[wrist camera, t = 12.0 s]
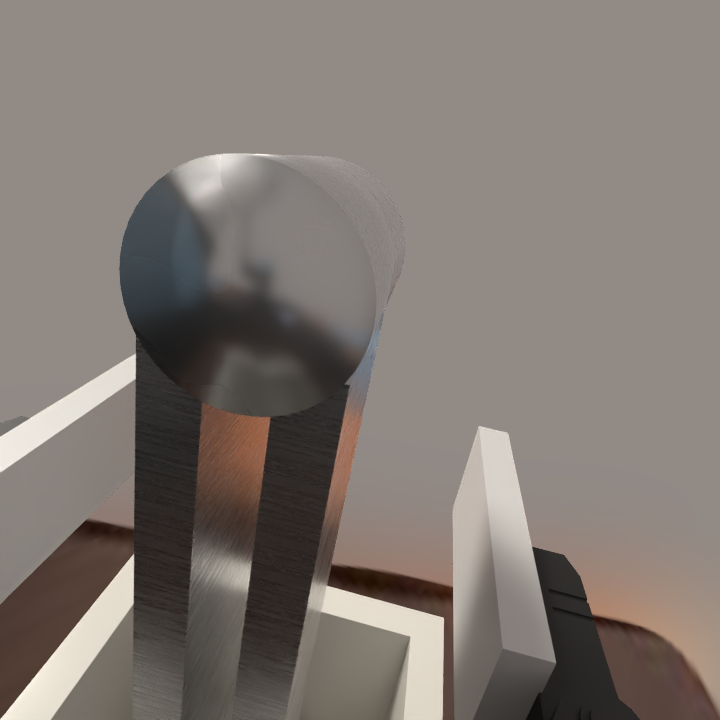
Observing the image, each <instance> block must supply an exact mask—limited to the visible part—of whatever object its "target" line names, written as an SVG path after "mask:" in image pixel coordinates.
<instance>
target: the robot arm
mask: <svg viewBox="0 0 720 720" xmlns="http://www.w3.org/2000/svg"><path fill="white" fill-rule="evenodd" d="M135 395H136V354H134V355H133V356H131V357H129V358H128V359H126V360H125V361H123V362H121V363H120V364H118V365H116V366H115V367H113V368H112V369H110V370H108V371H107V372H105V373H103V374H102V375H100V376H98V377H97V378H95V379H94V380H92V381H90V382H89V383H87V384H86V385H84V386H82V387H81V388H79V389H77V390H76V391H74V392H72V393H71V394H69V395H67V396H66V397H64V398H63V399H61V400H59V401H58V402H56V403H55V404H53V405H51V406H50V407H48V408H46V409H45V410H43V411H42V412H40V413H38V414H36V415H35V416H33V417H32V418H26V417H18V418H15V419H12V420H9V421H6V422H3V423H0V604H1V603H2V602H3V601H4V600H5V599H6V598H7V597H8V596H9V595H10V594H11V593H12V592H13V591H14V590H15V589H16V588H17V587H18V586H19V585H20V584H21V583H22V582H23V581H24V580H25V579H26V578H27V577H28V576H29V575H30V574H31V573H32V572H33V571H34V570H35V569H36V568H37V567H38V566H39V565H40V564H41V563H42V562H43V561H44V560H45V559H46V558H47V557H48V556H49V555H50V554H51V553H53V552H54V551H55V550H56V549H57V548H58V547H59V546H60V545H61V544H62V543H63V542H64V541H65V540H66V539H67V538H68V537H69V536H70V535H71V534H72V533H73V532H74V531H75V530H76V529H77V528H78V527H79V526H80V525H81V524H82V523H83V522H84V521H85V520H86V519H87V518H88V517H89V516H90V515H91V514H92V513H93V512H94V511H95V510H96V509H97V508H98V507H99V506H100V505H101V504H102V503H103V502H104V501H105V500H106V499H107V498H108V497H109V496H110V495H111V494H112V493H113V492H114V491H115V490H116V489H118V487H120V486H121V484H123V483H124V482H125V481H126V480H127V479H128V478H129V477H130V476H131V475H132V474H133V473H134V472H135ZM453 608H454V720H640V719H639V718H638V717H637V716H636V714H635V713H634V712H633V711H632V709H630V708H629V707H628V706H627V705H625V704H624V703H623V702H622V701H620V700H619V698H618V696H617V693H616V690H615V687H614V684H613V680H612V677H611V674H610V671H609V668H608V664H607V661H606V658H605V655H604V651H603V648H602V645H601V642H600V639H599V635H598V632H597V629H596V626H595V623H594V622H593V621H592V620H593V616H592V613H591V610H590V607H589V604H588V603H587V597H586V594H585V590H584V587H583V584H582V581H581V578H580V576H579V575H578V573H577V572H576V570H575V569H574V568H573V567H572V565H571V564H570V562H569V561H568V560H567V558H566V557H565V556H564V555H562V554H558V553H554V552H550V551H546V550H543V549H539V548H535V547H532V545H531V540H530V535H529V531H528V526H527V522H526V517H525V512H524V507H523V503H522V497H521V493H520V488H519V484H518V478H517V474H516V469H515V464H514V460H513V455H512V450H511V445H510V440H509V436H508V433H506V432H501V431H497V430H493V429H489V428H485V427H480V426H479V428H478V431H477V434H476V437H475V440H474V444H473V447H472V450H471V453H470V456H469V459H468V463H467V466H466V469H465V472H464V475H463V478H462V482H461V485H460V488H459V491H458V494H457V498H456V501H455V504H454V507H453Z"/></svg>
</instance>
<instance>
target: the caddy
mask: <svg viewBox="0 0 720 720" xmlns="http://www.w3.org/2000/svg"><path fill="white" fill-rule="evenodd" d="M133 611H134V554H133V556H132V557H131V558H130V559H129V561H128V562H127V563H126V564H125V566H124V567H123V568H122V569H121V570H120V572H119V573H118V574H117V575H116V577H115V578H114V579H113V580H112V582H111V583H110V584H109V585H108V587H107V588H106V589H105V590H104V592H103V593H102V594H101V595H100V597H99V598H98V599H97V600H96V602H95V603H94V604H93V605H92V606H91V608H90V609H89V610H88V611H87V613H86V614H85V615H84V616H83V618H82V619H81V620H80V621H79V623H78V624H77V625H76V626H75V628H74V629H73V630H72V631H71V633H70V634H69V635H68V636H67V638H66V639H65V640H64V641H63V643H62V644H61V645H60V646H59V647H58V649H57V650H56V651H55V652H54V654H53V655H52V656H51V657H50V659H49V660H48V661H47V662H46V664H45V665H44V666H43V667H42V669H41V670H40V671H39V672H38V674H37V675H36V676H35V677H34V679H33V680H32V681H31V682H30V684H29V685H28V686H27V687H26V688H25V690H24V691H23V692H22V693H21V695H20V696H19V697H18V698H17V700H16V701H15V702H14V703H13V705H12V706H11V707H10V708H9V710H8V711H7V712H6V713H5V715H4V716H3V717H2V718H1V720H132V719H133ZM443 641H444V618H442V617H438V616H435V615H431V614H427V613H424V612H420V611H416V610H413V609H409V608H405V607H402V606H398V605H394V604H391V603H387V602H384V601H380V600H376V599H373V598H369V597H365V596H362V595H358V594H354V593H351V592H347V591H343V590H340V589H336V588H333V587H329V586H327V587H326V592H325V597H324V602H323V607H322V611H321V616H320V621H319V626H318V630H317V635H316V640H315V645H314V649H313V654H312V659H311V664H310V669H309V673H308V678H307V683H306V688H305V692H304V697H303V702H302V707H301V711H300V716H299V720H442V709H443Z"/></svg>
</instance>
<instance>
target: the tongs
mask: <svg viewBox="0 0 720 720" xmlns="http://www.w3.org/2000/svg"><path fill="white" fill-rule="evenodd" d="M404 256H405V234H404V227H403V223H402V219H401V216H400V214H399V211H398V209H397V206H396V205H395V203H394V201H393V199H392V197H391V196H390V194H389V193H388V192H387V190H386V189H385V188H384V186H382V184H381V183H380V182H379V181H378V180H377V179H376V178H375V177H373V176H372V175H371V174H370V173H369V172H367V171H366V170H364V169H362V168H361V167H359V166H357V165H355V164H353V163H350V162H348V161H345V160H342V159H337V158H333V157H325V156H295V155H265V154H263V155H262V154H218V155H212V156H206V157H201V158H198V159H196V160H193V161H190V162H187V163H185V164H183V165H181V166H179V167H177V168H175V169H173V170H171V171H170V172H169V173H167V174H166V175H165V176H164V177H162V178H161V179H159V180H158V181H157V182H156V183H155V184H154V185H153V186H152V187H151V188H150V189H149V190H148V191H147V192H146V193H145V195H144V196H143V198H142V199H141V200H140V202H139V203H138V205H137V206H136V208H135V210H134V212H133V214H132V216H131V218H130V220H129V222H128V225H127V228H126V231H125V234H124V237H123V242H122V247H121V254H120V284H121V291H122V296H123V301H124V305H125V308H126V311H127V315H128V318H129V320H130V323H131V325H132V327H133V329H134V332H135V334H136V395H135V505H134V506H135V508H134V611H133V719H132V720H299V716H300V711H301V707H302V702H303V697H304V692H305V688H306V683H307V678H308V673H309V669H310V664H311V659H312V654H313V649H314V645H315V640H316V635H317V630H318V626H319V621H320V616H321V611H322V607H323V602H324V597H325V592H326V587H327V583H328V578H329V573H330V568H331V564H332V558H333V554H334V549H335V544H336V539H337V535H338V530H339V525H340V520H341V516H342V511H343V506H344V502H345V497H346V492H347V487H348V483H349V478H350V473H351V468H352V464H353V459H354V454H355V449H356V444H357V440H358V435H359V429H360V425H361V421H362V416H363V411H364V406H365V402H366V397H367V392H368V387H369V382H370V378H371V373H372V368H373V363H374V359H375V354H376V349H377V344H378V339H379V334H380V330H381V325H382V321H383V316H384V311H385V307H386V305H387V303H388V301H389V299H390V296H391V294H392V292H393V290H394V287H395V285H396V283H397V280H398V278H399V276H400V273H401V270H402V267H403V263H404Z"/></svg>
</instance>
